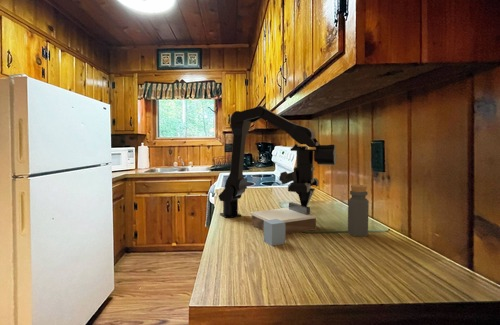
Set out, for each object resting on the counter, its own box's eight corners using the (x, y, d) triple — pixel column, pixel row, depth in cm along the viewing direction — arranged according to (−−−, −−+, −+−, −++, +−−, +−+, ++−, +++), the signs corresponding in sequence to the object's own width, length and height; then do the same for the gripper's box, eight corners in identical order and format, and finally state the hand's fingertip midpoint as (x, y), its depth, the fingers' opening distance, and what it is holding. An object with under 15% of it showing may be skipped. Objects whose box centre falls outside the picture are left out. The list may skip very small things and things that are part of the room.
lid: (250, 214, 102) (250, 205, 101) (290, 209, 109) (290, 200, 109) (272, 224, 89) (272, 213, 89) (315, 218, 96) (316, 208, 96)
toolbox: (252, 225, 102) (252, 214, 102) (290, 219, 109) (290, 210, 109) (274, 236, 90) (274, 224, 89) (315, 229, 97) (316, 218, 97)
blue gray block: (263, 241, 85) (263, 220, 84) (276, 239, 87) (276, 218, 86) (271, 246, 81) (271, 224, 80) (285, 243, 83) (285, 222, 83)
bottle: (364, 231, 94) (365, 184, 94) (370, 237, 89) (371, 187, 88) (345, 231, 95) (346, 184, 94) (350, 236, 89) (351, 186, 88)
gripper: (290, 162, 114) (289, 202, 115) (273, 165, 97) (272, 212, 98) (319, 163, 109) (318, 205, 110) (306, 166, 93) (306, 216, 93)
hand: (304, 209), depth 103 cm, fingers closed
